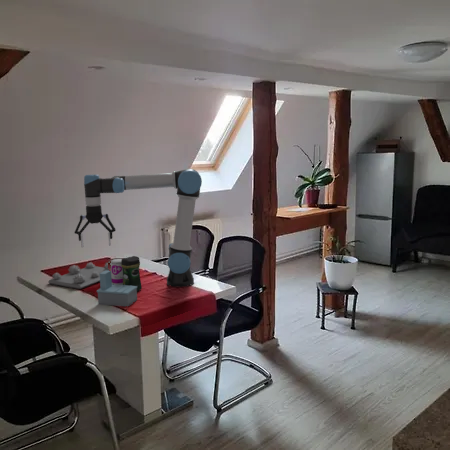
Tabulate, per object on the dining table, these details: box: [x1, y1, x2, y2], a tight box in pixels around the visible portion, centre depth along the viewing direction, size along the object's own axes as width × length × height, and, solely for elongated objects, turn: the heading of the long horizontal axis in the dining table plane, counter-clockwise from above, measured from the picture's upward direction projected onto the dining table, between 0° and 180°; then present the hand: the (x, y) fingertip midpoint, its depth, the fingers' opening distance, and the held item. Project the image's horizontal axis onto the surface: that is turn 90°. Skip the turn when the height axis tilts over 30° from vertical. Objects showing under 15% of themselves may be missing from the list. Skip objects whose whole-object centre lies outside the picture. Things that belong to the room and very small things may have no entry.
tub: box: [97, 288, 138, 307], centre depth 224 cm, size 16×10×6 cm, turn 76°
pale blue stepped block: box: [96, 270, 137, 295], centre depth 223 cm, size 17×11×9 cm, turn 76°
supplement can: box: [109, 258, 123, 285], centre depth 248 cm, size 8×8×15 cm
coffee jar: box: [121, 255, 143, 292], centre depth 240 cm, size 10×8×19 cm
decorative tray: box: [48, 262, 109, 290], centre depth 263 cm, size 35×26×10 cm
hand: (96, 246), depth 233 cm, fingers open, 13 cm apart
